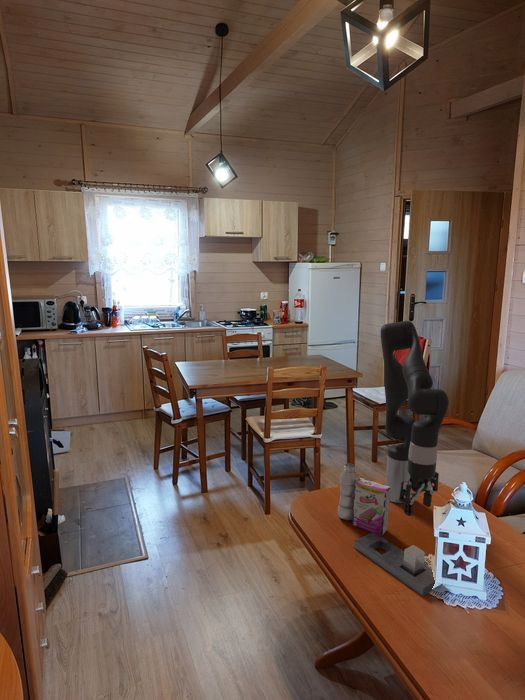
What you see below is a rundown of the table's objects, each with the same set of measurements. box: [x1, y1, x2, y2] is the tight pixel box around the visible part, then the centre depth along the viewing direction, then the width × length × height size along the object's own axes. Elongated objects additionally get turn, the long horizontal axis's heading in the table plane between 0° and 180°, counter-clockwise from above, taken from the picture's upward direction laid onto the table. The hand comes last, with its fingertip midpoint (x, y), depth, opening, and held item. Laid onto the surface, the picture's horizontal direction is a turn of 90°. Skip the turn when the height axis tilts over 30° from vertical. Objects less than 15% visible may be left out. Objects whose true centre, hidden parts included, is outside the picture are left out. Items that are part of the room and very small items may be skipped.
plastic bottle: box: [337, 463, 359, 521], centre depth 163 cm, size 6×7×20 cm
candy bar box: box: [351, 477, 391, 537], centre depth 157 cm, size 11×5×16 cm, turn 56°
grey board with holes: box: [353, 532, 435, 597], centre depth 139 cm, size 9×26×2 cm, turn 34°
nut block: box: [403, 544, 426, 577], centre depth 134 cm, size 4×4×8 cm
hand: (417, 510), depth 133 cm, fingers open, 8 cm apart
